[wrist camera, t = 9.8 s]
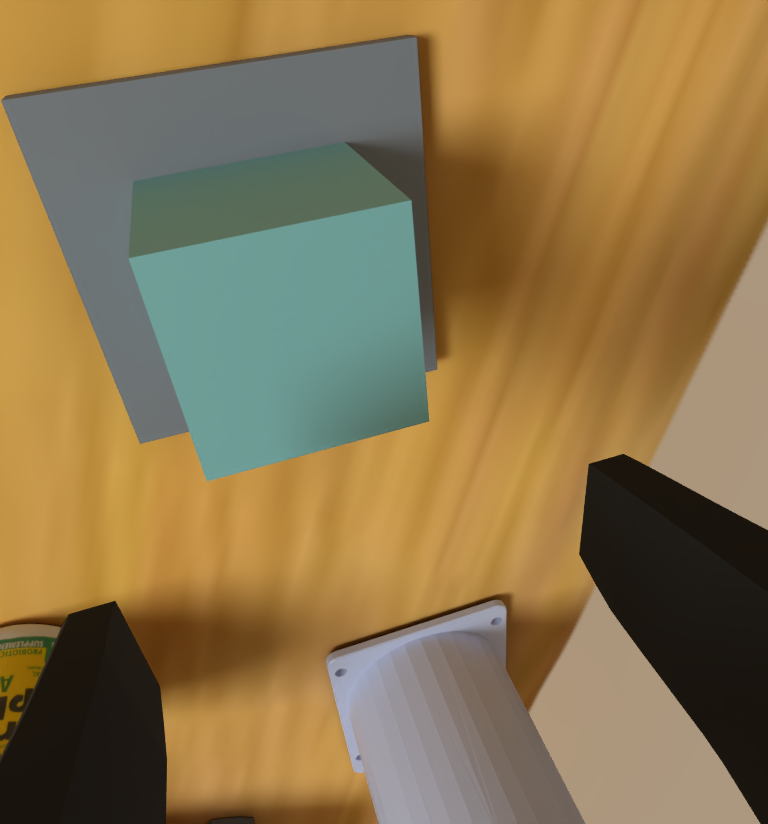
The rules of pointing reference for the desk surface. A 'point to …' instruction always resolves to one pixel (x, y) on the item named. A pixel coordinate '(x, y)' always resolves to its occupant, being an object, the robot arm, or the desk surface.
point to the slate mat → (200, 148)
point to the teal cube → (282, 303)
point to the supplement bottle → (21, 670)
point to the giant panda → (233, 821)
